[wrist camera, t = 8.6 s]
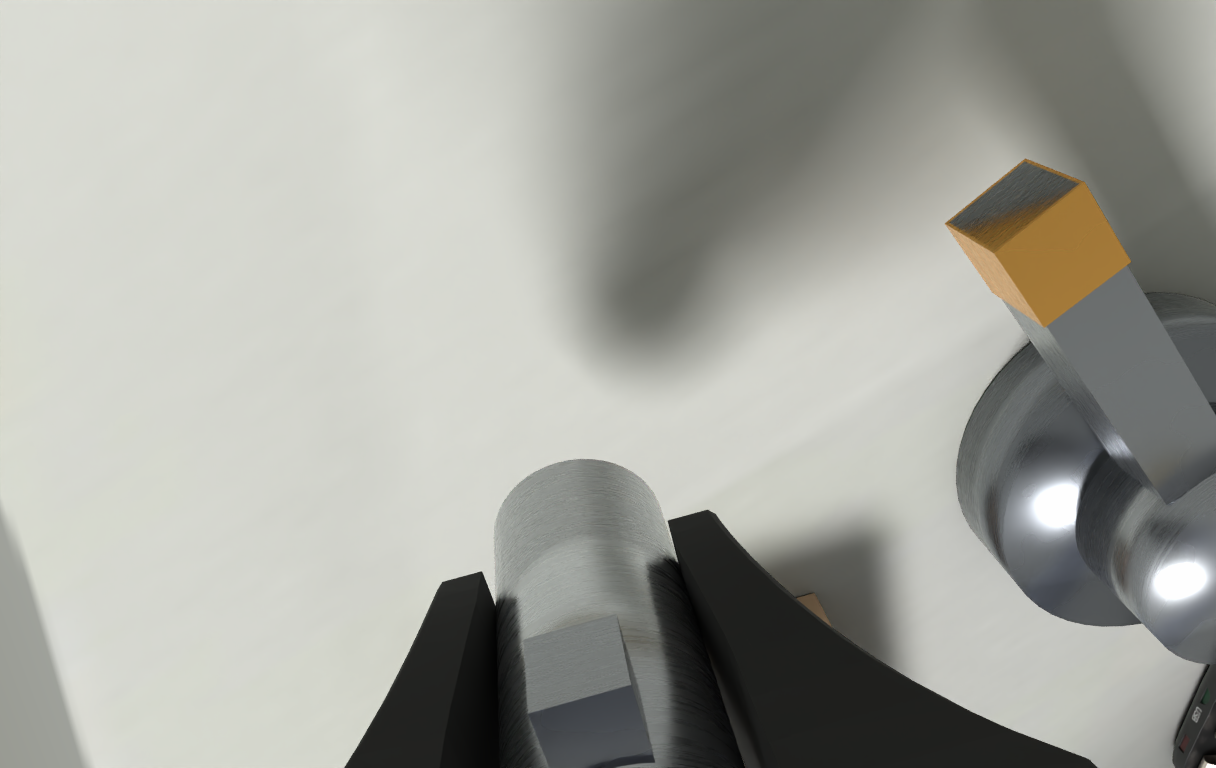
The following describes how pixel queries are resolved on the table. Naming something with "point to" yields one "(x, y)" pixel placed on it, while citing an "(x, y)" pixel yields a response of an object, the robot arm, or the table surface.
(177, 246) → the table surface
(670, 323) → the table surface
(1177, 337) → the base
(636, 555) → the key
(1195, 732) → the battery charger
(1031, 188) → the collar
